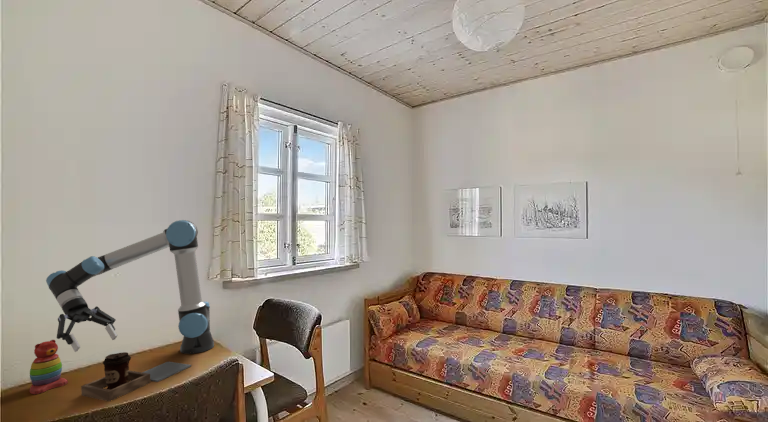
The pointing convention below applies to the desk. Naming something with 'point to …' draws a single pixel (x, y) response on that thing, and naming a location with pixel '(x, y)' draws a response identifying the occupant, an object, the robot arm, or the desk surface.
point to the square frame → (98, 391)
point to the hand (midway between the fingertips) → (97, 343)
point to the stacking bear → (46, 368)
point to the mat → (165, 370)
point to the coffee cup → (116, 369)
